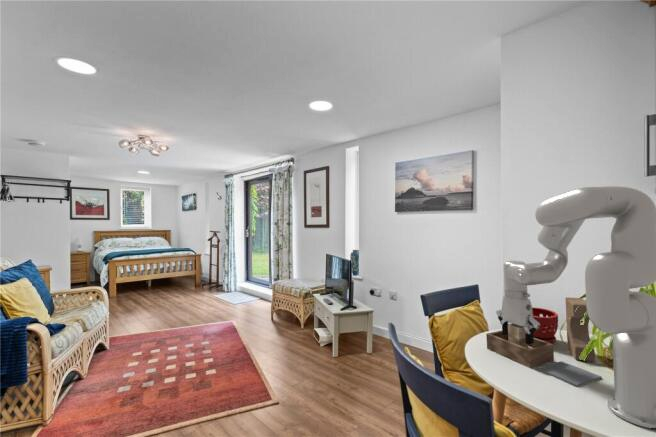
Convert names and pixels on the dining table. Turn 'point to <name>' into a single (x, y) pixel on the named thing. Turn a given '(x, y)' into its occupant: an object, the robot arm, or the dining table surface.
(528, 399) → the dining table surface
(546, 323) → the plant pot
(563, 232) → the robot arm
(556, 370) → the mat
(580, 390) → the dining table surface
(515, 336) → the maple block
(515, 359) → the walnut box
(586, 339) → the decorative block
